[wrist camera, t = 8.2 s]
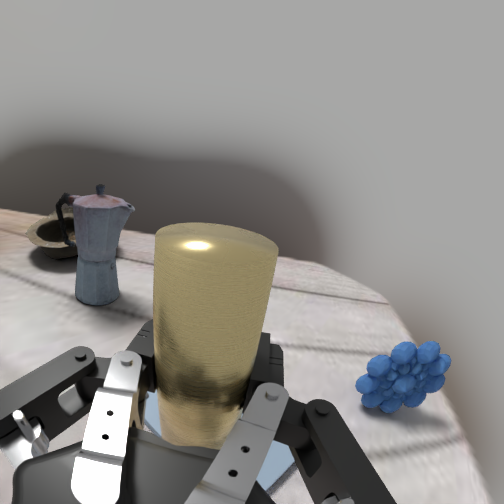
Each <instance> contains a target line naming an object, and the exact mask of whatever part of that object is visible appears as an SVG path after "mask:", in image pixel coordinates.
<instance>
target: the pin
mask: <svg viewBox="0 0 504 504" xmlns="http://www.w3.org/2000/svg"><path fill="white" fill-rule="evenodd" d="M278 250H279V249H278V247H277V245H276V244H275V243H274V242H272V241H271V240H269V239H268V238H266V237H264V236H262V235H260V234H257V233H254V232H251V231H248V230H245V229H241V228H237V227H232V226H226V225H220V224H211V223H180V224H173V225H169V226H166V227H163V228H161V229H160V230H158V231H157V233H156V236H155V255H154V286H153V325H154V356H155V374H156V388H157V399H158V410H159V419H160V428H161V435H162V439H163V440H165V441H167V442H169V443H171V444H173V445H176V446H197V447H207V448H212V449H217V450H220V449H221V447H222V446H223V444H224V442H225V441H226V439H227V437H228V435H229V434H230V432H231V430H232V428H233V427H234V425H235V423H236V421H237V420H238V419H241V416H242V411H243V405H244V401H245V397H246V393H247V388H248V384H249V380H250V376H251V373H252V370H253V366H254V362H255V358H256V353H257V349H258V345H259V340H260V336H261V331H262V327H263V322H264V318H265V313H266V309H267V304H268V299H269V295H270V290H271V285H272V281H273V276H274V271H275V266H276V261H277V257H278V252H279V251H278Z"/></svg>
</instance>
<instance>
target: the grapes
mask: <svg viewBox="0 0 504 504" xmlns="http://www.w3.org/2000/svg"><path fill="white" fill-rule="evenodd" d="M439 353H440V346H439V343H437V342H435V341H429V342H425V343H424V344H422V345H421V346H419V348H418V349H417V348H416V345H415V344H414V343H412V342H402V343H400V344H398V345H397V346H395V347H394V349H393V350H392V353H391V357H389V356H387V355H378V356H376V357H374V358H372V359H371V360H370V361H369V362H368V364H367V371H368V373H367V374H365V375H363V376H361V377H360V378H359V379H358V380H357V381H356V385H355V386H356V389H357V391H358V392H360V393H362V394H363V395H362V398H361V401H362V404H363V405H364V406H365V407H368V408H373V407H376V406H378V405H380V408H381V410H382V411H383V412H385V413H392V412H395V411H397V410H398V409H399V408H400V407H401V406H402V403H404V405H405V406H407V407H411V408H413V407H417V406H419V405H420V404H421V403H422V402H423V401H424V400H425V398H426V393H434V392H437V391H438V390H439V389H440V388H441V387H442V386H443V384H444V382H445V377H444V375H443V373H445V372H446V371H447V370H448V368H449V367H450V364H451V358H450V356H448V355H447V354H439Z"/></svg>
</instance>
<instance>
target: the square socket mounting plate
mask: <svg viewBox="0 0 504 504" xmlns="http://www.w3.org/2000/svg"><path fill="white" fill-rule="evenodd" d="M243 414H244V413H242V415H243ZM241 417H242V416H241ZM144 423H145V424H146V425H147V426H148V427H149V428H150V430H151V431H152V432H153V433H154V434H155V435H156V436H158V437H160V438H162V435H161V428H160V419H159V410H158V399H157V389H156V391H155V393H152V392H149V391H147V393H146V408H145V418H144ZM294 462H295V460H294V458H293V456H292V454H291V451H290V449H289V446H288V445H285V444H282V443H280V442H277V441H274V440H273V441H272V444H271V446H270V448H269V451H268V453H267V456H266V458H265V460H264V463H263V465H262V467H261V470H260V472H259V474H258V476H257V479H256V480H257V481H258V483H259V484H260V485H261V486H262V488H263V489H264V490H265V491H267V490H268V489H269V488H270V487H271V486H272V485H273V484H274V483H275V482H276V481H277V480H278V479H279V478H280V477H281V476H282V475H283V474H284V473H285V472H286V471H287V470H288V469H289V467H290V466H291V465H292V464H293V463H294Z"/></svg>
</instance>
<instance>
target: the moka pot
mask: <svg viewBox="0 0 504 504" xmlns="http://www.w3.org/2000/svg"><path fill="white" fill-rule="evenodd" d="M104 189H105V185H102V184H99V185H97V186H96V192H97V194H94V195H88V196H83V197H80V196H78V195H70V194H68V193H64V195H62V197H61V199H59V201H58V202H57V204H56V213H57V216H58V220H59V224H60V228H61V231H62V236H63V239H64V243H65V244H66V245H68V246H71V247H75V245H76V246H77V250H78V260H77V272H76V286H75V296H76V297H77V298H78V299H79V300H80V301H82V302H83V303H86V304H90V305H104V304H105V305H106V304H109V303H111V302H113V301H115V300H116V299H117V297H118V296H119V288H118V279H117V270H116V259H115V255H116V247H118V242H119V237H120V232H121V230H122V228H123V227H124V224H125V223H126V221H127V219H128V217H129V215H130V214H131V212H132V211H135V209H134V207H133V206H131V204H129V203H126V202H124V200H123V199H120V198H116V197H112V196H109V195H104V194H103V192H104ZM64 203H66V204H68V206H72V207H73V216H74V227H75V238H76V243H75V242H74V241H70V240H69V238H68V235H67V232H66V226H65V223H64V218H63V213H62V209H61V207H62V205H63V204H64Z"/></svg>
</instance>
